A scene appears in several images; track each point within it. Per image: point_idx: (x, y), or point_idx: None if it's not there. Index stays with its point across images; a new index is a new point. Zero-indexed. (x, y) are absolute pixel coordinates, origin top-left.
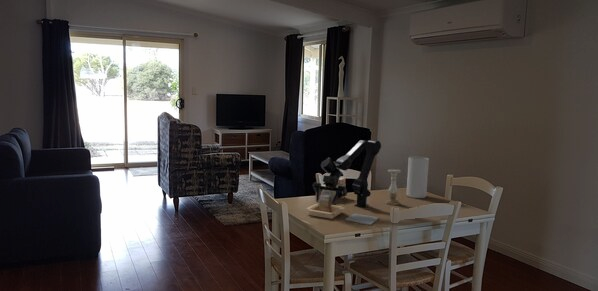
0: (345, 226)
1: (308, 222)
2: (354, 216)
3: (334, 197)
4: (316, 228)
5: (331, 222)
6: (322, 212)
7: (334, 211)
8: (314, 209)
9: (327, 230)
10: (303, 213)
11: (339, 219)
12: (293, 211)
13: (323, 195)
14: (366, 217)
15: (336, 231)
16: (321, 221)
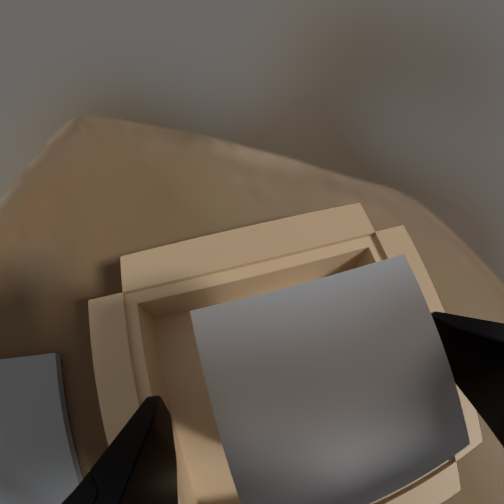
0: (24, 249)
1: (233, 153)
2: (51, 483)
3: (126, 464)
4: (139, 126)
5: (113, 252)
6: (204, 237)
7: (146, 384)
8: None
9: (85, 143)
10: None
11: None
12: (480, 262)
13: (385, 345)
14: (1, 491)
15: (48, 162)
16: (181, 220)
